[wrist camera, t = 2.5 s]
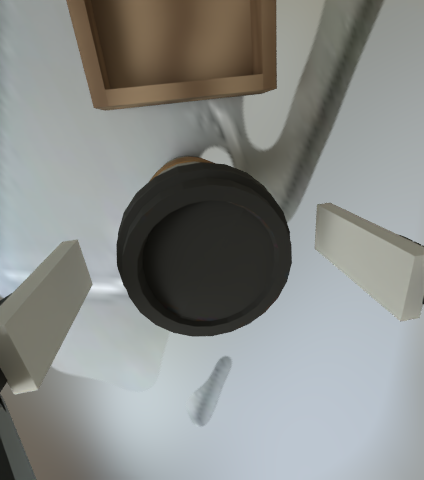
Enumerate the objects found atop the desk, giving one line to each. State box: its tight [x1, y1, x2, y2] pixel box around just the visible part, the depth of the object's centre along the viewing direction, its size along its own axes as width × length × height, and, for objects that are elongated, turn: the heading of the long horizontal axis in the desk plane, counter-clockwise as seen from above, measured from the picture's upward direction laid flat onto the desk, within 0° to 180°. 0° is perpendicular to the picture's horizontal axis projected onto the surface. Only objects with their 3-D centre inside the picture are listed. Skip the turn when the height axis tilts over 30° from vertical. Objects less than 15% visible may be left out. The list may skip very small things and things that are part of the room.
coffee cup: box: [117, 156, 292, 336], centre depth 18 cm, size 8×8×15 cm
